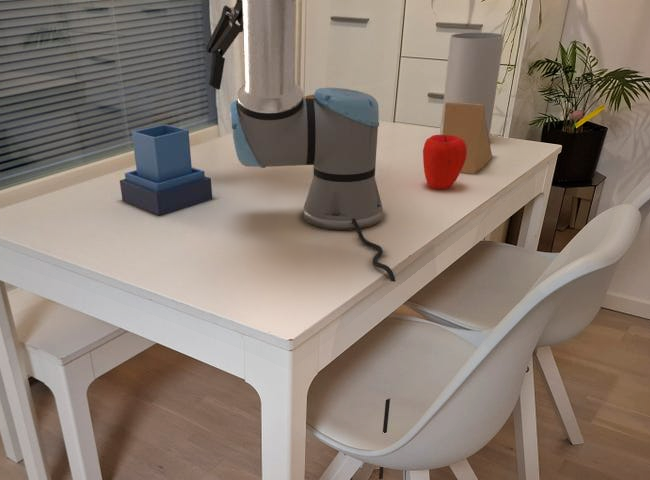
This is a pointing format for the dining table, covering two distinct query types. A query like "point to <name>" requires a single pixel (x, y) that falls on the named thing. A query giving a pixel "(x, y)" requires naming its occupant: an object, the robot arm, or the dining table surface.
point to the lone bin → (162, 153)
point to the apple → (443, 160)
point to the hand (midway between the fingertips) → (238, 83)
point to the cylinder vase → (473, 71)
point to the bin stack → (166, 192)
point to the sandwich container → (469, 132)
